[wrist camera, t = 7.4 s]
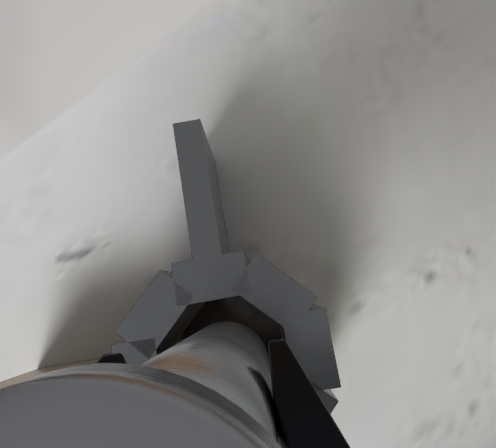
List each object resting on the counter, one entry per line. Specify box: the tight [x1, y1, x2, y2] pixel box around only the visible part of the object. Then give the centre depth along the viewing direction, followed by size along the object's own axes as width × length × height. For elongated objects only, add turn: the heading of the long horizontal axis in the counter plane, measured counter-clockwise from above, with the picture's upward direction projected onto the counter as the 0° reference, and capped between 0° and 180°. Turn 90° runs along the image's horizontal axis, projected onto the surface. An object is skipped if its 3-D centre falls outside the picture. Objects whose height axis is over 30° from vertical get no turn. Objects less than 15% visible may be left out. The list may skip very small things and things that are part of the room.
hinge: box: [0, 119, 341, 414], centre depth 18 cm, size 12×15×5 cm
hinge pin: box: [0, 321, 282, 448], centre depth 9 cm, size 4×4×13 cm
